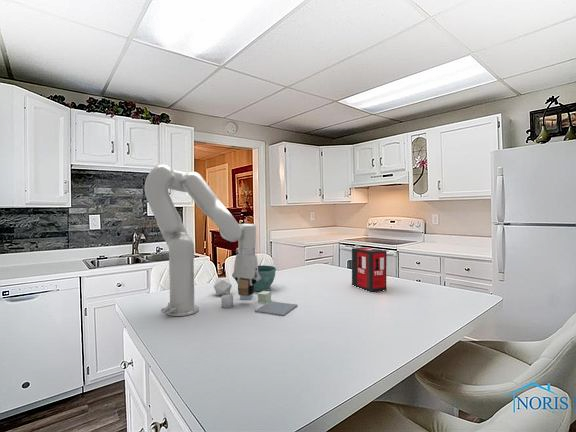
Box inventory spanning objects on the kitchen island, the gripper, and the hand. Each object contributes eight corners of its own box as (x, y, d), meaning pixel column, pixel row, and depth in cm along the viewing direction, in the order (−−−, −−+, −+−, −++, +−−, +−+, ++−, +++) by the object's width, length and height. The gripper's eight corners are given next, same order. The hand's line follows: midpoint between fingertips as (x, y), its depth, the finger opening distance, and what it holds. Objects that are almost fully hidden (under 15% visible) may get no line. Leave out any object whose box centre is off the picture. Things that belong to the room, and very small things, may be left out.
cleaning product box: (386, 290, 163) (386, 251, 162) (372, 293, 159) (372, 252, 158) (365, 283, 178) (365, 247, 177) (351, 285, 174) (351, 248, 173)
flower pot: (271, 294, 158) (271, 271, 158) (240, 292, 162) (240, 270, 161) (279, 286, 174) (279, 265, 174) (250, 284, 177) (250, 265, 177)
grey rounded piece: (229, 308, 136) (228, 298, 136) (219, 307, 138) (219, 297, 138) (235, 305, 140) (235, 295, 140) (226, 304, 143) (225, 294, 142)
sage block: (265, 303, 144) (265, 294, 143) (258, 302, 145) (257, 293, 145) (271, 300, 148) (271, 291, 148) (263, 299, 150) (263, 290, 150)
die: (225, 299, 152) (236, 280, 156) (208, 290, 152) (220, 271, 156) (225, 300, 160) (235, 282, 164) (209, 292, 160) (220, 274, 164)
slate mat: (283, 316, 126) (283, 314, 126) (254, 312, 131) (254, 310, 131) (297, 305, 139) (297, 304, 139) (270, 302, 144) (270, 301, 144)
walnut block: (247, 296, 140) (247, 280, 140) (238, 295, 142) (239, 279, 141) (252, 294, 144) (253, 278, 144) (244, 292, 146) (244, 277, 146)
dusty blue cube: (250, 300, 149) (250, 291, 149) (240, 299, 149) (239, 291, 149) (253, 297, 154) (252, 288, 154) (242, 296, 154) (242, 288, 154)
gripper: (225, 251, 142) (224, 292, 143) (259, 254, 136) (258, 297, 136) (235, 249, 149) (234, 289, 149) (267, 252, 142) (266, 293, 143)
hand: (245, 292), depth 143 cm, fingers closed on walnut block, 4 cm apart
